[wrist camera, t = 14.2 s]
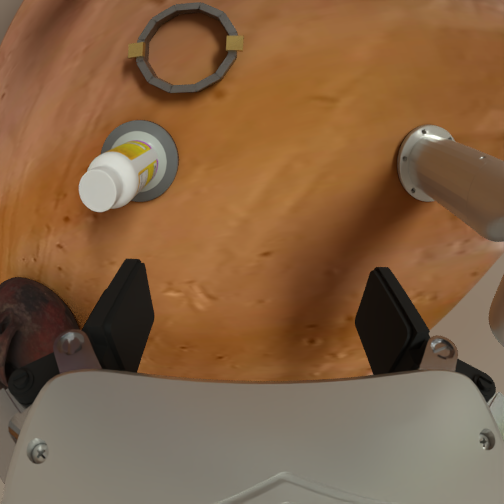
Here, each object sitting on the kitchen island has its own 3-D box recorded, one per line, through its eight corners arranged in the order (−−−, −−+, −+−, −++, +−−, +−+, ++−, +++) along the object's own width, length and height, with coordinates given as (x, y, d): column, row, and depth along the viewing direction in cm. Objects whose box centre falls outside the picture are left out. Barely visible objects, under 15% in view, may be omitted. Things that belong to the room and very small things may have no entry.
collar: (245, 6, 27) (245, -1, 25) (241, 92, 34) (240, 91, 31) (139, 14, 27) (132, 8, 24) (135, 96, 33) (127, 96, 30)
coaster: (178, 117, 35) (176, 117, 34) (180, 199, 41) (178, 201, 40) (100, 124, 35) (97, 125, 34) (107, 200, 41) (104, 202, 40)
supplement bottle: (110, 150, 36) (61, 175, 25) (149, 131, 35) (108, 148, 24) (128, 190, 39) (87, 229, 28) (167, 174, 38) (135, 208, 27)
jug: (107, 302, 51) (56, 408, 29) (85, 361, 61) (53, 441, 39) (13, 240, 44) (-61, 317, 22) (10, 312, 54) (-35, 380, 32)
